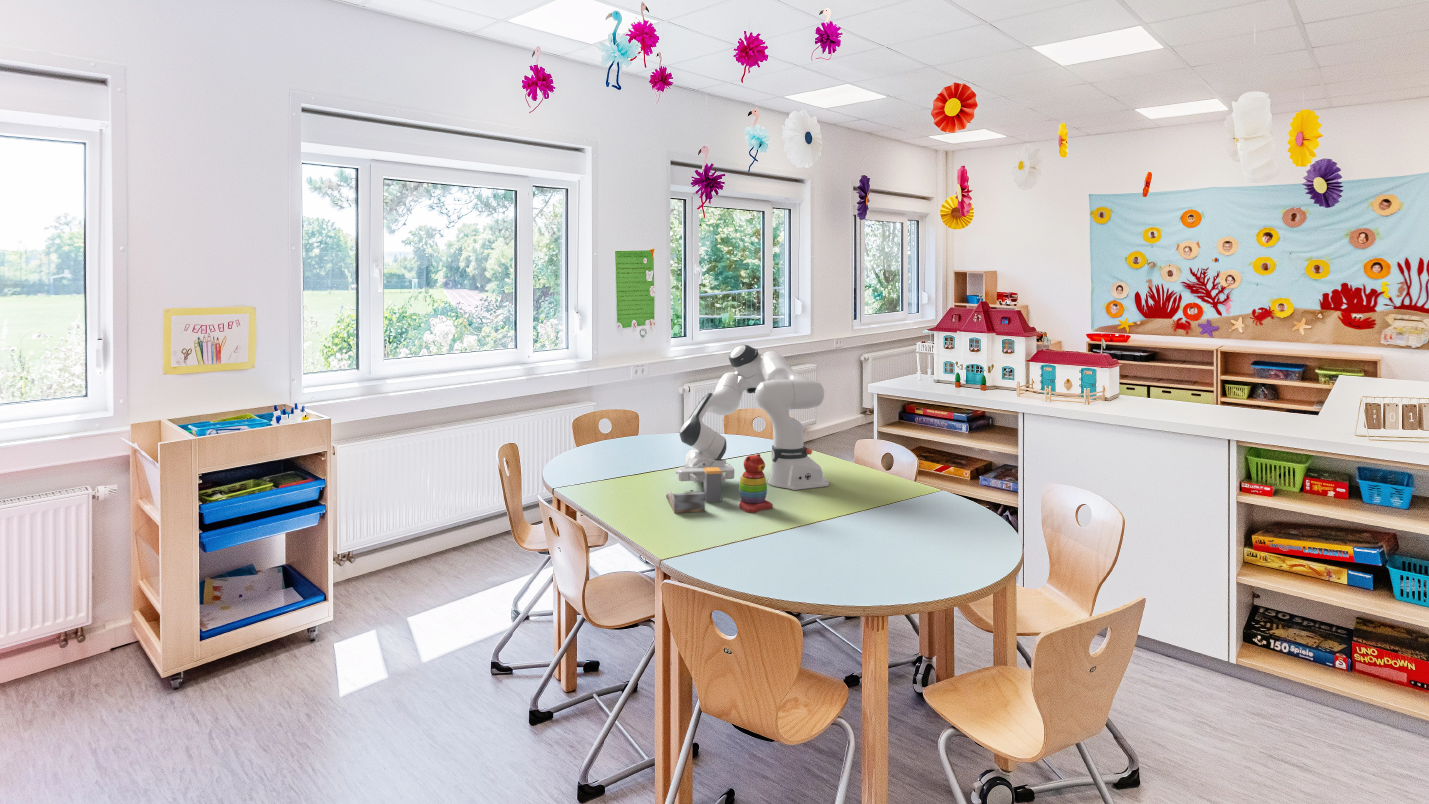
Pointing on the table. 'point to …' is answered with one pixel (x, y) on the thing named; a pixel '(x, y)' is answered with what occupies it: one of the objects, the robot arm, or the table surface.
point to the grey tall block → (712, 484)
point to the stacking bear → (753, 485)
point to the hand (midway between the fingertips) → (709, 479)
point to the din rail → (687, 502)
